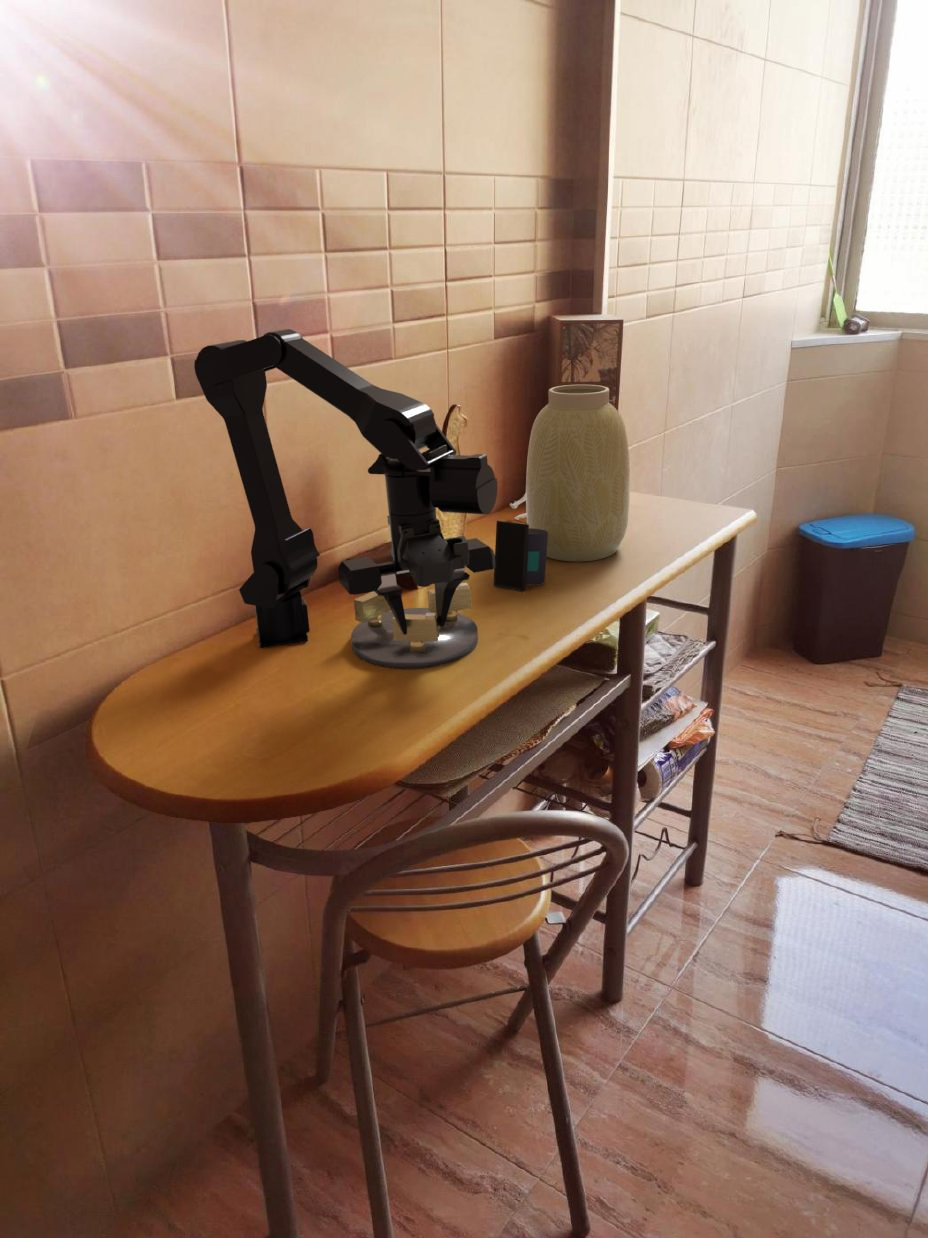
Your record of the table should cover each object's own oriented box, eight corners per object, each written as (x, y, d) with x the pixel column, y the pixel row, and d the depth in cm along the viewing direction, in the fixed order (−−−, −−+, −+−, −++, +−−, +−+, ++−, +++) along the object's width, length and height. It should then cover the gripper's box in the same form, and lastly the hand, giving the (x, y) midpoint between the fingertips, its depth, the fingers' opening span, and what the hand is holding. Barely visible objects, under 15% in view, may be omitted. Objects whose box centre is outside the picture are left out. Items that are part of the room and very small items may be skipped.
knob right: (432, 624, 127) (430, 591, 125) (428, 619, 128) (427, 586, 126) (471, 619, 128) (470, 586, 126) (467, 614, 130) (466, 581, 128)
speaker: (518, 594, 140) (520, 526, 136) (492, 587, 144) (493, 520, 141) (553, 586, 144) (556, 520, 141) (528, 579, 148) (530, 515, 145)
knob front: (394, 651, 119) (391, 616, 117) (397, 645, 121) (395, 610, 119) (437, 653, 118) (435, 617, 116) (439, 646, 120) (438, 611, 118)
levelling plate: (364, 677, 116) (362, 661, 115) (342, 627, 131) (341, 612, 130) (494, 657, 120) (493, 642, 119) (458, 610, 135) (457, 596, 134)
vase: (556, 572, 148) (557, 402, 138) (509, 543, 163) (506, 387, 153) (647, 555, 155) (655, 390, 144) (594, 528, 169) (597, 377, 159)
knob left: (366, 633, 125) (363, 599, 123) (355, 630, 126) (352, 596, 124) (394, 619, 129) (392, 586, 127) (384, 616, 130) (381, 584, 128)
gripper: (353, 538, 102) (368, 667, 108) (509, 512, 108) (516, 636, 113) (330, 516, 112) (345, 636, 117) (474, 493, 117) (482, 609, 123)
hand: (423, 629), depth 118 cm, fingers closed on knob front, 5 cm apart
